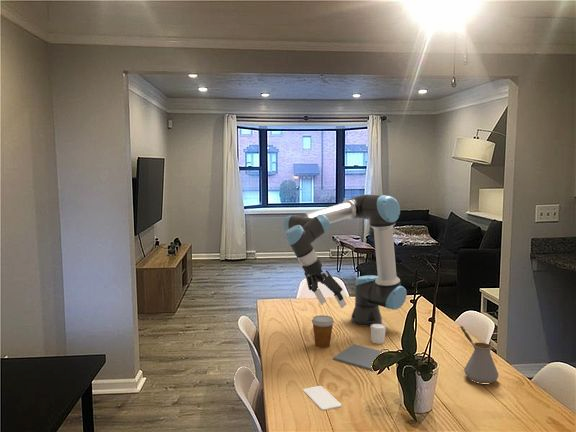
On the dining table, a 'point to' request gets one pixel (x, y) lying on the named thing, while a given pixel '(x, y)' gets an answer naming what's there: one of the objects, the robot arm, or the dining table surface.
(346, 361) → the grey rubber mat
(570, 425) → the dining table surface
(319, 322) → the disposable coffee cup
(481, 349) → the coffee pot
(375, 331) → the white candle
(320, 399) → the smartphone
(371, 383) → the dining table surface
